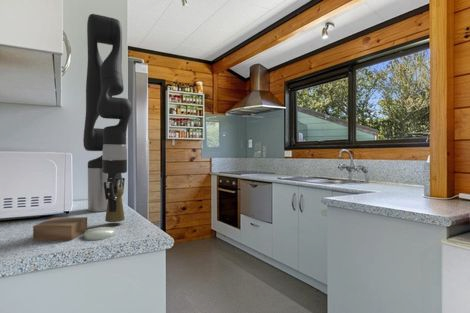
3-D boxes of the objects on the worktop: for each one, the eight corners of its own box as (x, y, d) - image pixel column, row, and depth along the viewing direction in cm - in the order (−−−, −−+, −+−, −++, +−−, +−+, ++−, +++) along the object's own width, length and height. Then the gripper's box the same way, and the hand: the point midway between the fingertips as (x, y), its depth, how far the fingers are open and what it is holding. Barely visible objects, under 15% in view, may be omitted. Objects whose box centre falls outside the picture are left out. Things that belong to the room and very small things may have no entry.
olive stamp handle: (118, 222, 95) (117, 188, 95) (101, 221, 97) (101, 187, 96) (128, 218, 101) (128, 185, 101) (112, 217, 103) (112, 185, 102)
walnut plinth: (53, 230, 90) (53, 217, 90) (87, 230, 91) (87, 217, 91) (33, 240, 80) (33, 226, 80) (71, 240, 81) (71, 225, 81)
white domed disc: (91, 233, 89) (91, 227, 89) (118, 232, 90) (118, 226, 90) (79, 241, 81) (79, 234, 81) (109, 240, 82) (109, 234, 82)
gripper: (110, 157, 105) (110, 206, 106) (94, 159, 91) (94, 215, 91) (132, 157, 105) (132, 206, 106) (119, 159, 91) (119, 215, 92)
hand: (114, 210), depth 99 cm, fingers closed on olive stamp handle, 4 cm apart
